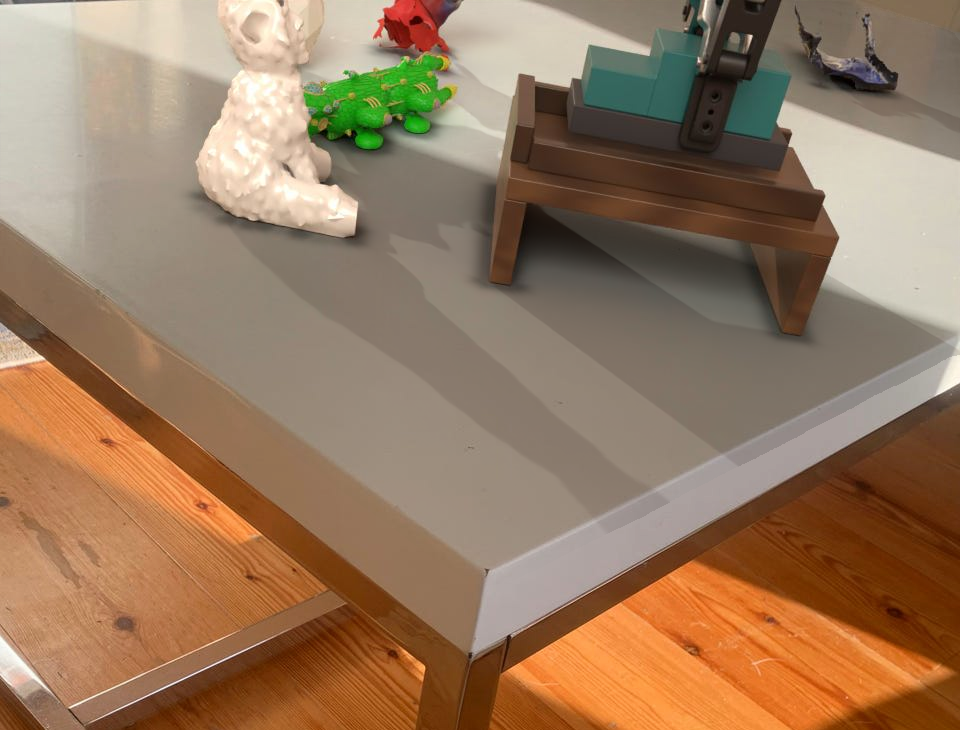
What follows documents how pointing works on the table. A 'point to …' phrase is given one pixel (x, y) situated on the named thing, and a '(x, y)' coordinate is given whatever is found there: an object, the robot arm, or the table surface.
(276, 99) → the white creature statuette
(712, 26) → the robot arm
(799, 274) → the shoe shelf
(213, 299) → the table surface
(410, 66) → the crocodile figurine
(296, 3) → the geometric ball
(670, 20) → the table surface
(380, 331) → the table surface
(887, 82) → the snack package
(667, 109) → the teal stepped block
